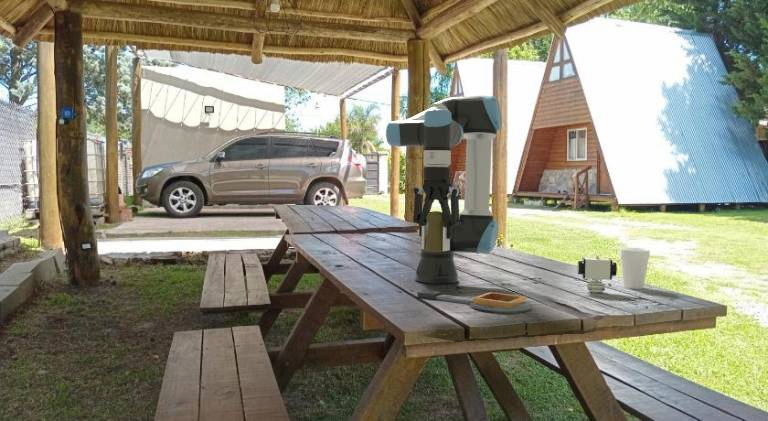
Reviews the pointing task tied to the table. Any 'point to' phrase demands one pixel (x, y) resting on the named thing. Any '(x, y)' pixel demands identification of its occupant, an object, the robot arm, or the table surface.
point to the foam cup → (634, 266)
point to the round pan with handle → (485, 301)
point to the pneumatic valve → (596, 272)
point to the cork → (434, 232)
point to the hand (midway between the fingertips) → (435, 249)
